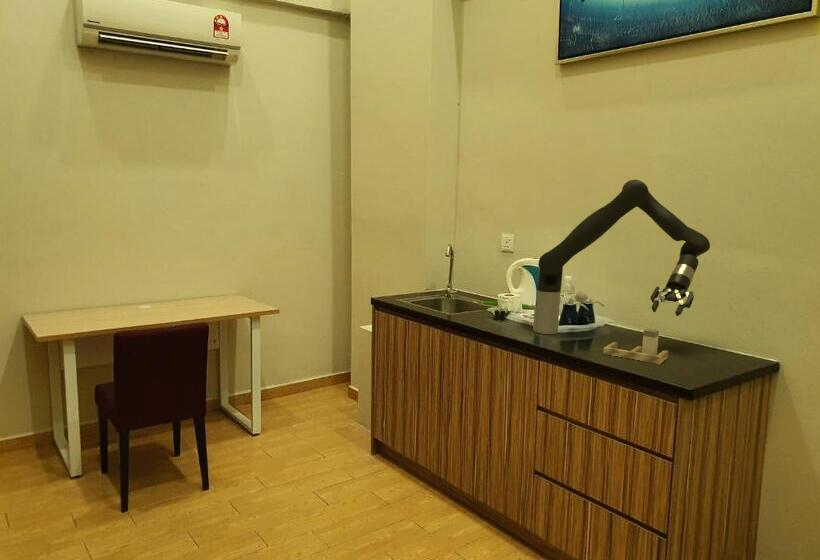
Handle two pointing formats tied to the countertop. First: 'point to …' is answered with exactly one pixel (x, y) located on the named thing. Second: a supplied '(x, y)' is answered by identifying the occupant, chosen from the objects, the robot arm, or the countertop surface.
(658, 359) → the comb rack
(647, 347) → the cream lidded container
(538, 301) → the robot arm
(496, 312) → the figurine
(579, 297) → the toy
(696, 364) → the countertop surface
